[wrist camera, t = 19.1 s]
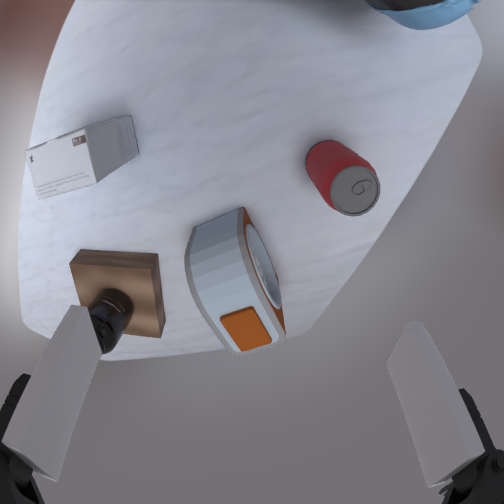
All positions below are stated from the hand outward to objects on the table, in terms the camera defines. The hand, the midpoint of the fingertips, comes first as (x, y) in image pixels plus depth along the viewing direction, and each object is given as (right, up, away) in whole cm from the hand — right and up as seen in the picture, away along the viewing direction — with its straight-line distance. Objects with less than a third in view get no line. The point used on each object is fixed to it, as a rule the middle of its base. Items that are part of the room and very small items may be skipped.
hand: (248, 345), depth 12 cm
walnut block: (-22, -2, +39) cm, 45 cm away
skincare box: (-19, +19, +26) cm, 38 cm away
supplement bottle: (-22, -5, +35) cm, 41 cm away
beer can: (+11, +16, +29) cm, 35 cm away
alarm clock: (-2, +3, +36) cm, 36 cm away
